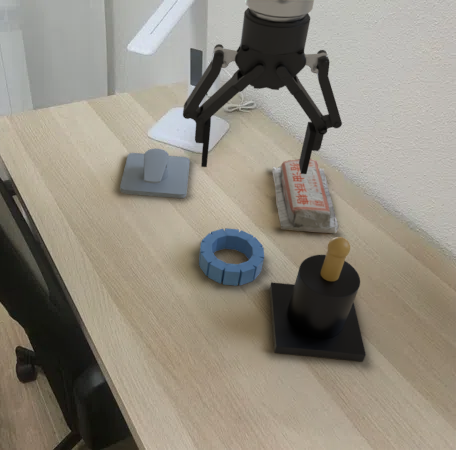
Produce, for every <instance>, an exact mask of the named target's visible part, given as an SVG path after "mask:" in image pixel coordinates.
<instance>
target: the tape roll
mask: <svg viewBox="0 0 456 450" xmlns="http://www.w3.org/2000/svg"><path fill="white" fill-rule="evenodd" d="M199 245H200V247H199V255H198V265H199V268H200V270H201V271H202V272H203V273H204V275H205V276H206V277H207V278H208V279H210V280H211V281H214V282H216V283H218V284H219V285H221V284H222V285H223V286H235V287H238V286H243V285H246V284H250V283H252V282H253V281H255V280H256V279H257V278H258V277H259V275H260V274H261V273H262V269H263V265H264V260H265V249H264V245H263V244H262V243H261V242H260V241H259V239H258V238H257V237H256V236H254V235H253V234H250V233H249V232H246V231H244V230H240V229H238V228H227V227H225V228H219V229H216V230H214V231H213V230H212V231H210V232H208V234H206V235H205V236H204V237H203V239H202V240H201V241H200V244H199ZM221 250H235V251H237V252H239V253H241V254H243V255H244V256H245V257H246V258H247V259H248V260H247V261H243V262H240V263H228V262H226V261H223V260H222V259H220V258H217V256H216V255H215V253H216V252H218V251H221Z"/></svg>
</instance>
